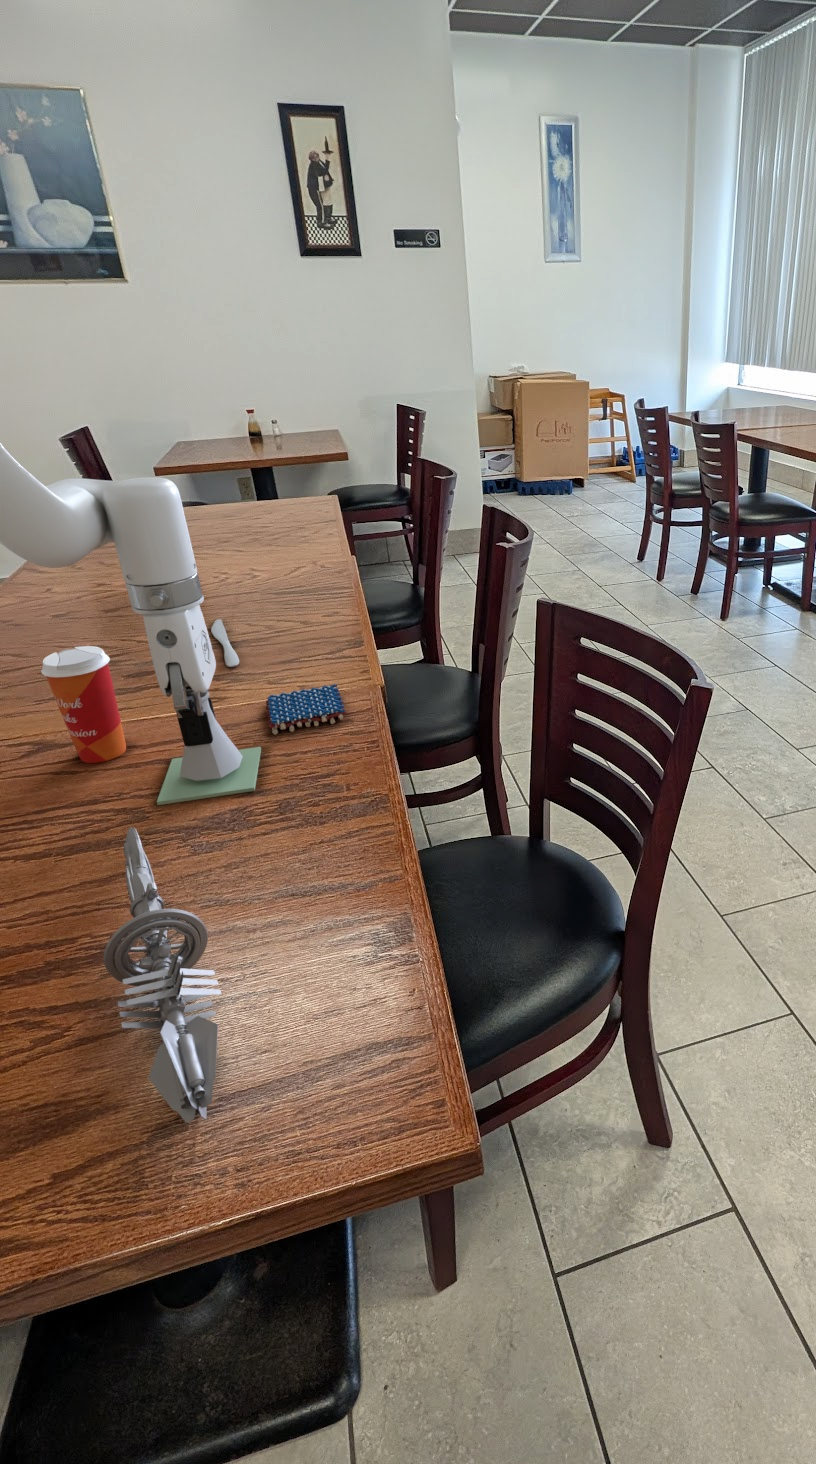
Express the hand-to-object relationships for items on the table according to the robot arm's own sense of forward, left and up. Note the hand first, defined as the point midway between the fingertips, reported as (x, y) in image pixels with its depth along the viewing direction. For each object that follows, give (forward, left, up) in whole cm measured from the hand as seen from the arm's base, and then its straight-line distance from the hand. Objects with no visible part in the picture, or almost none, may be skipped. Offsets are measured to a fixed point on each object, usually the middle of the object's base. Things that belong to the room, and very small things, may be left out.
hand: (201, 735), depth 100 cm
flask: (0, 0, -5) cm, 5 cm away
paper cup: (-15, +11, -6) cm, 19 cm away
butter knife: (-4, +50, -6) cm, 50 cm away
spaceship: (+1, -37, -6) cm, 37 cm away
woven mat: (+11, +15, -6) cm, 20 cm away
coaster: (0, 0, -6) cm, 6 cm away
